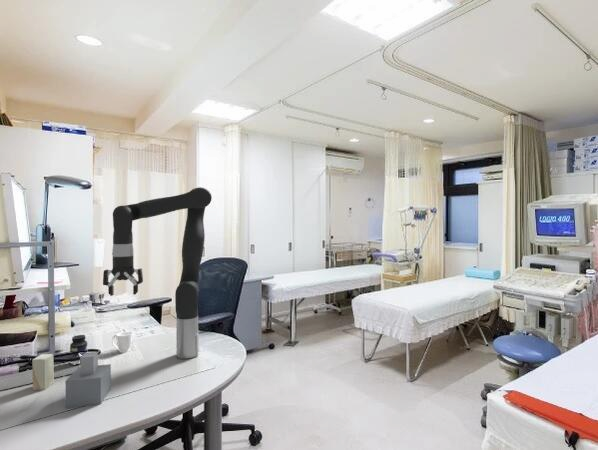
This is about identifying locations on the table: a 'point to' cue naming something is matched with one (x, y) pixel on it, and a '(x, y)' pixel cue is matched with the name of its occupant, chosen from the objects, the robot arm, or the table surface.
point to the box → (43, 371)
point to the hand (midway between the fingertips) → (123, 294)
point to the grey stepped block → (88, 382)
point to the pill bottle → (78, 344)
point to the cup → (123, 341)
